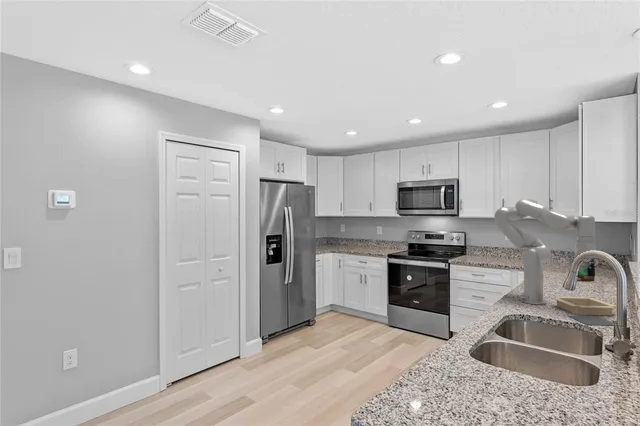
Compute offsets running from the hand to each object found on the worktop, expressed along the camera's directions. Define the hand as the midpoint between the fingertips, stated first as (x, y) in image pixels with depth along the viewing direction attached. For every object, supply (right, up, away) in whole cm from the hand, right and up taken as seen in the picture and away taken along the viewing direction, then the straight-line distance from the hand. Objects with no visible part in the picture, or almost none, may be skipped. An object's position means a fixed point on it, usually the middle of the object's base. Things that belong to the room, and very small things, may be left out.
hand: (586, 274), depth 180 cm
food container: (0, -3, -1) cm, 3 cm away
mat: (-7, -20, -12) cm, 24 cm away
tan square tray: (+3, -20, +6) cm, 21 cm away
